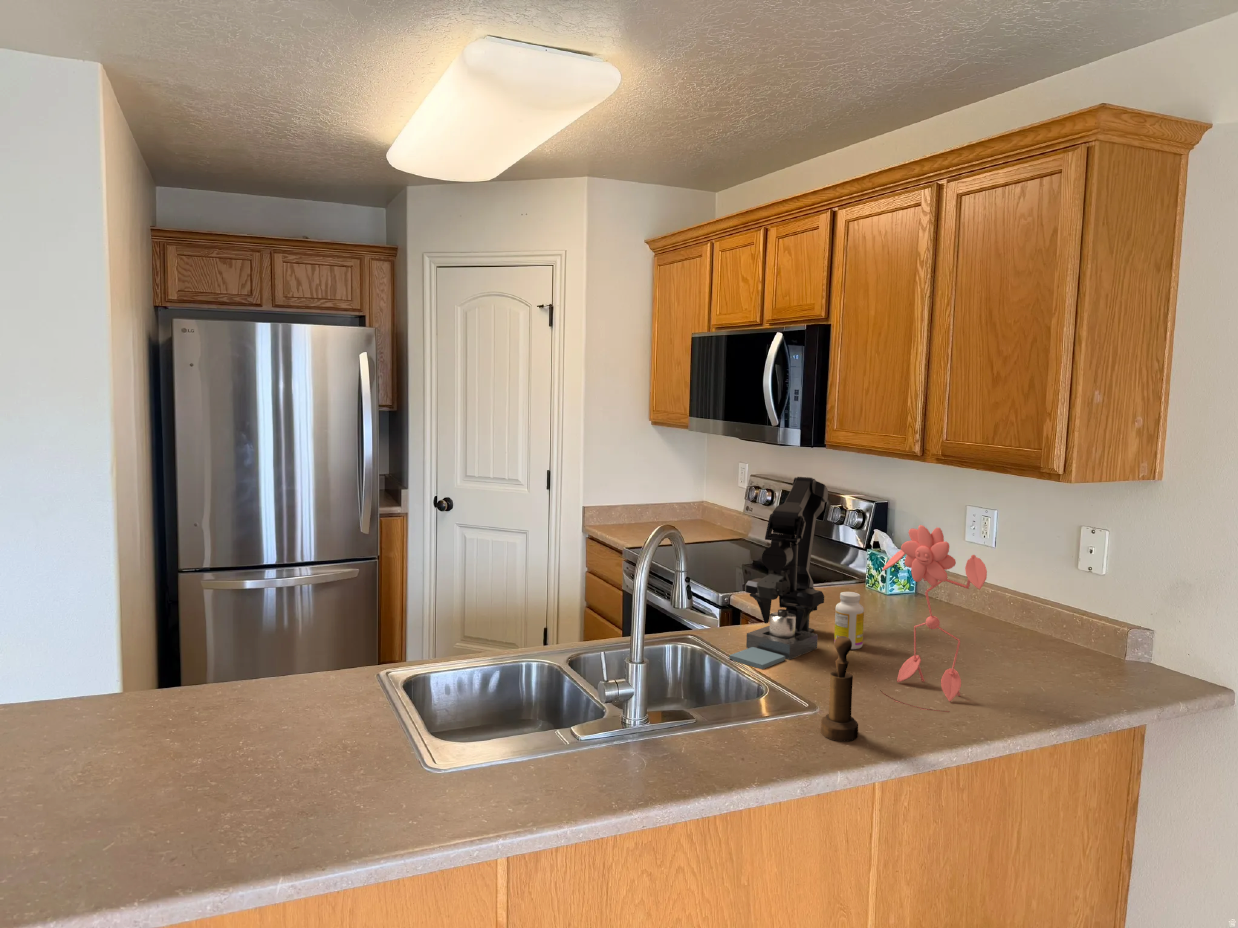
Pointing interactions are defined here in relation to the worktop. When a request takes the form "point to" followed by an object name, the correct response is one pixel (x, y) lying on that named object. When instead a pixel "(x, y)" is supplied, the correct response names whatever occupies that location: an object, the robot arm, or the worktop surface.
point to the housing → (782, 642)
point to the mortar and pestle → (840, 698)
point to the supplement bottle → (849, 619)
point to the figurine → (930, 564)
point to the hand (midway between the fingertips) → (782, 627)
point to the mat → (757, 657)
